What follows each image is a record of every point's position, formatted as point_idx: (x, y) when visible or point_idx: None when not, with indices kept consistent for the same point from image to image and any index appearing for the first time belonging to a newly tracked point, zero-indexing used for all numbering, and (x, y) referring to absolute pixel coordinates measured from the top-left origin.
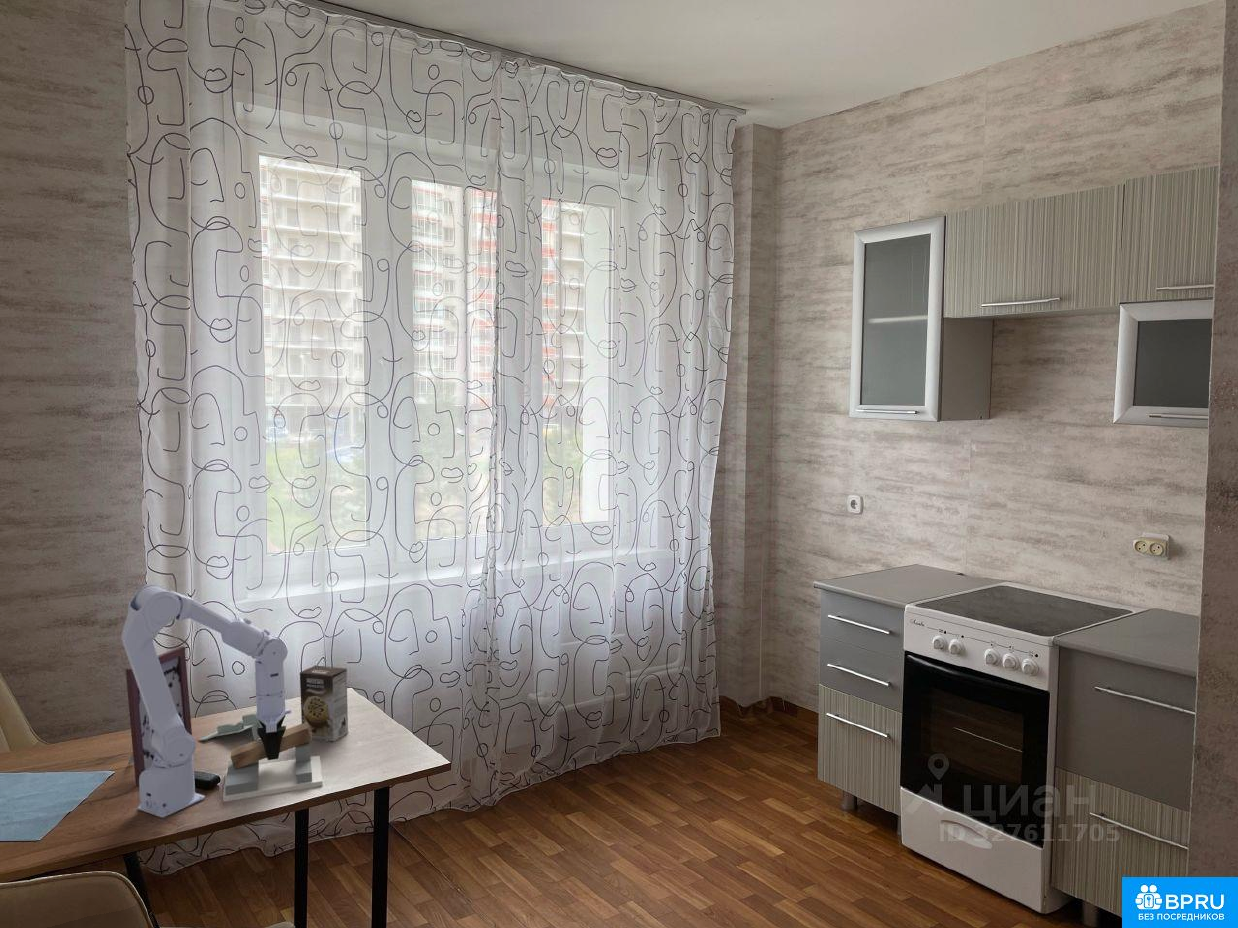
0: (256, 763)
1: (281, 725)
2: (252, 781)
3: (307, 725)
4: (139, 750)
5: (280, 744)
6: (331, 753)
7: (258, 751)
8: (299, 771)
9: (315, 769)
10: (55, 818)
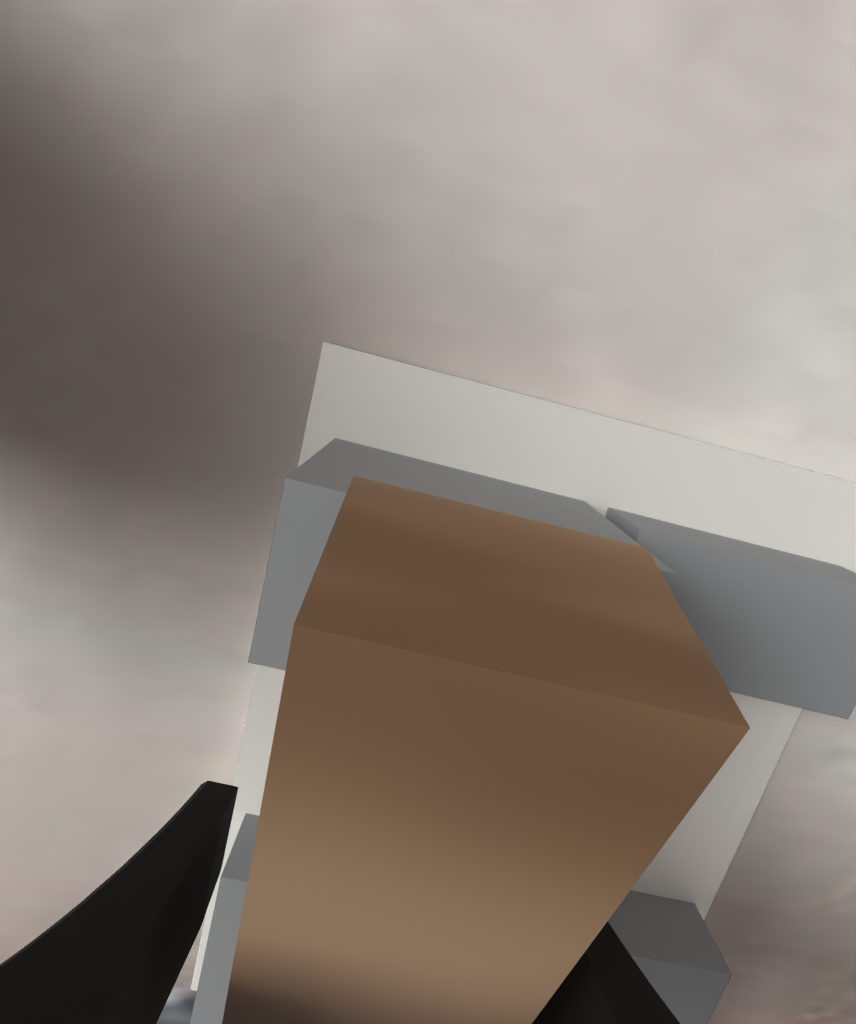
0: None
1: (107, 1015)
2: (709, 999)
3: (568, 688)
4: None
5: (667, 1007)
6: (237, 191)
7: None
8: (802, 681)
9: (622, 471)
10: None
